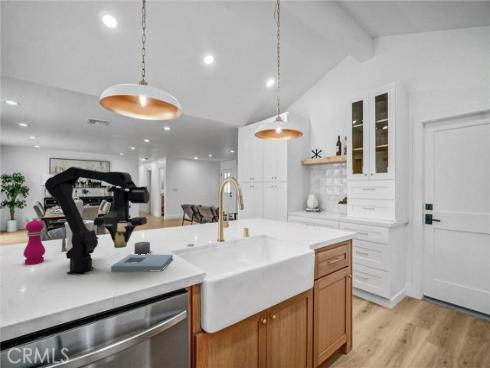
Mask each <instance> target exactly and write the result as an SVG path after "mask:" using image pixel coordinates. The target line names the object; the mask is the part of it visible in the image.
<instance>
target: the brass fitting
mask: <svg viewBox="0 0 490 368" xmlns="http://www.w3.org/2000/svg"><path fill="white" fill-rule="evenodd" d="M125 234H126V229H124V230H123V229H121V230H117V231H115V232H114V242H113V245H114V246H113V247H114V249H123V248H126V247H127V246H128V242H127V243H125Z"/></svg>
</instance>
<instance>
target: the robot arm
mask: <svg viewBox="0 0 490 368" xmlns="http://www.w3.org/2000/svg"><path fill="white" fill-rule="evenodd" d="M80 178H82V179H88V180H94V181H101V182H104V183H106V184H108V185H112V186H110V188H108V189H107V192H108V193H112V206H111V205H110V210H109V211H108V212H107V213H105V214H104V215H103V216H98V217H95V218H94V220H93V221H94V225H93V226H102V228H104V229H106V230H107V231H108V232H109V234H110V237H111V240H112V242H113V243H114V232H115V231H118V228H119V227H118V225H119V224H127V225H126V226H125V225H124V230H125V231H126V234H125V243H127V244H128V242H129V241H130V238H131V236H132V234H133V232H134V230H135V228H136V227H137V226H143V225H146V224H148V219H147V217H146V216H135V217H132V218H131V215H130V209H131V207H132V206H131V204H145V205H146V204H148V203H149V201H150V196H151V195H150V192H149V190H148V186H137V184H135V182H134V181H133V179H132V175H131V174H130V173H128V172H124V171H101V170H94V169H87V168H83V167H80V166H70V167H68V168H66V169H65V170H63V171H61V172H58V173H56V174H55V175H53V176H52V177H49V178H47V179H46V181H45V183H44V188H45V190H46V191H47V193H48V194H49V195H50V196H51V197H52V198H53V199H55V200H56V201H57V202H58V204H59V207H60V209H61V212H62V213H63V216H64V218H65V221H66V222H67V223H68V225H69V227H70V229H71V231H72V240H71V242H72V246H73V247H72V248H71V249H70V250H69V251H68V252H65V256H66V259H69V271H66V274H68V275H74V274H75V275H77V274H78V275H81V274H86V273H88V272H89V271H91V270H92V269H94V267H93V258H92V254H93V253H94V251H95V249H96V248H97V246H98V245H99V237H98V236H97V234H96V231H95V230H94V229H93V230H92V231H89V230H88V229H87V228H86V226H85V224H84V222H83V216H82V217H81V215H80V213H79V211H78V208H77V206H76V204H75V202H74V200H75V199H74V198H73V197H74V196H73V192H74V187H73V186H74V185H75V184H77V182H78V181H79V179H80ZM130 203H131V204H130Z"/></svg>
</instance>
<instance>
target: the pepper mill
mask: <svg viewBox="0 0 490 368" xmlns="http://www.w3.org/2000/svg"><path fill="white" fill-rule="evenodd" d="M38 219H39V218H38V217H37V216H34V217H32V220H30V221H29V222H27V223H26V225H25V229H26V231H27V237H28V240H27V241H28V242H27V245H26V247H25V248H24V250H23V257H24V258H26V259H24V264H25V265H29V266H30V265H38V264H40V263H44V261H45V260H44V259H45V258H44V255H45V254H46V248H45V246H44V244H43V242H42V235H43V229H44V227H45V224H44V222H42V221H41V220H38Z"/></svg>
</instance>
